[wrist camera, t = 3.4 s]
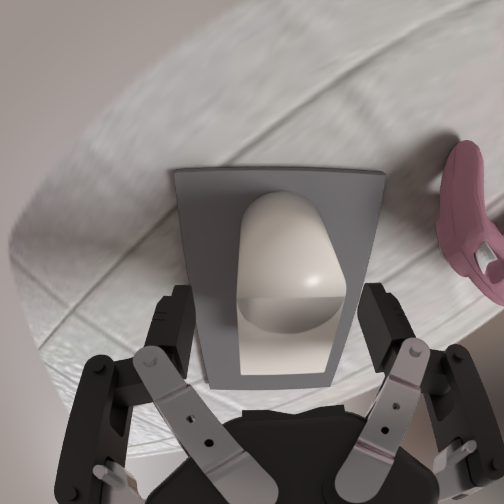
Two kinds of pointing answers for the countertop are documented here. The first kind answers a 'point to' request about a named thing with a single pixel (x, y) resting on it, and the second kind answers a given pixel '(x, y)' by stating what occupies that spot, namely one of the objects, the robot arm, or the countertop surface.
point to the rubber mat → (227, 253)
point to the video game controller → (469, 223)
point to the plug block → (286, 287)
